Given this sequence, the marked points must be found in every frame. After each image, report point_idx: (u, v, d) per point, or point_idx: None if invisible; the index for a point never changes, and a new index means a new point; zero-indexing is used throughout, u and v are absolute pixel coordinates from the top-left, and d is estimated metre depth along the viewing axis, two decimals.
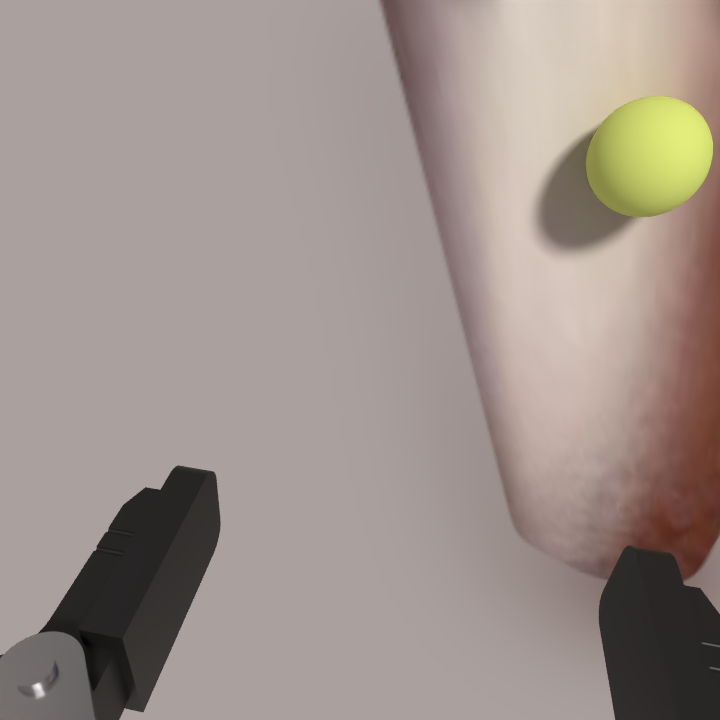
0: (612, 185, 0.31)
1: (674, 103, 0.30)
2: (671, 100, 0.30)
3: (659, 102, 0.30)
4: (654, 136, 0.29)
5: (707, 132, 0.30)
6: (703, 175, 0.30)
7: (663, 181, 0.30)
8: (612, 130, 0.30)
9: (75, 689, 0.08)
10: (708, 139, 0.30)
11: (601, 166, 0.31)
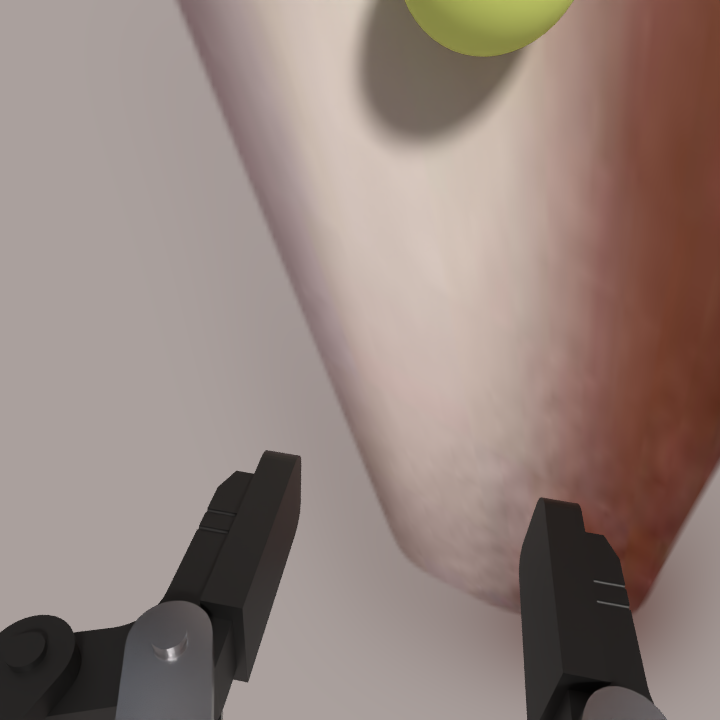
0: None
1: None
2: None
3: None
4: None
5: None
6: None
7: None
8: None
9: (199, 664, 0.08)
10: None
11: None
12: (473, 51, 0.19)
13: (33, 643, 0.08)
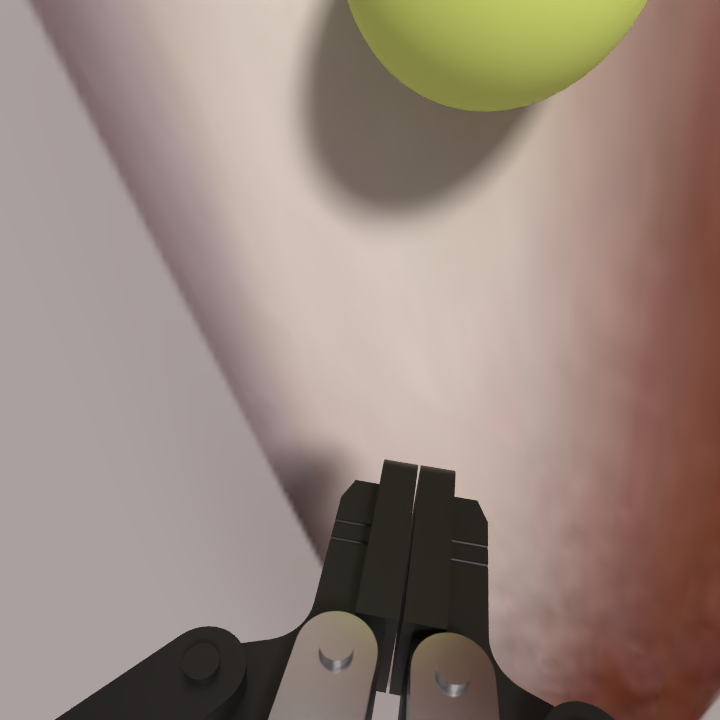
0: None
1: None
2: None
3: None
4: None
5: None
6: None
7: None
8: None
9: (357, 687, 0.08)
10: None
11: None
12: (466, 106, 0.12)
13: (209, 658, 0.08)
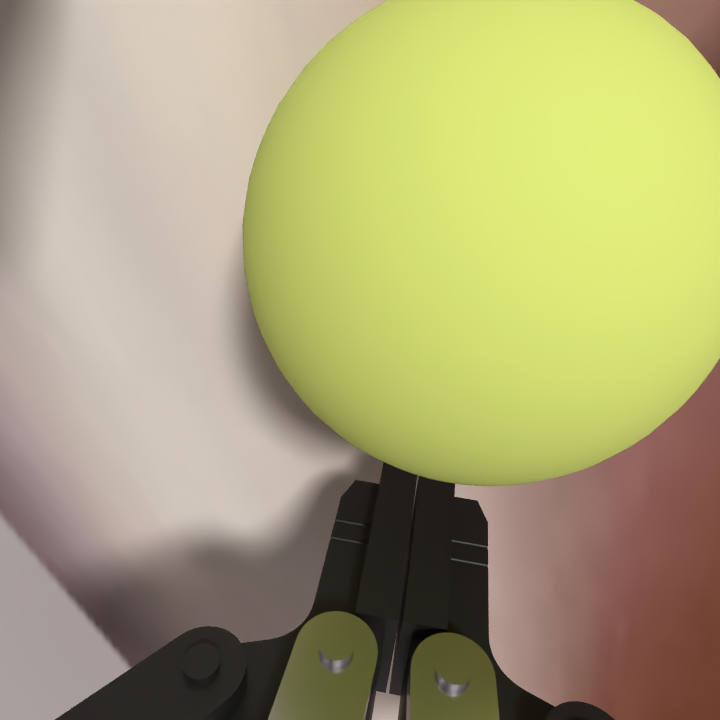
0: None
1: None
2: None
3: None
4: None
5: None
6: None
7: None
8: None
9: (357, 687, 0.08)
10: None
11: None
12: None
13: (209, 658, 0.08)
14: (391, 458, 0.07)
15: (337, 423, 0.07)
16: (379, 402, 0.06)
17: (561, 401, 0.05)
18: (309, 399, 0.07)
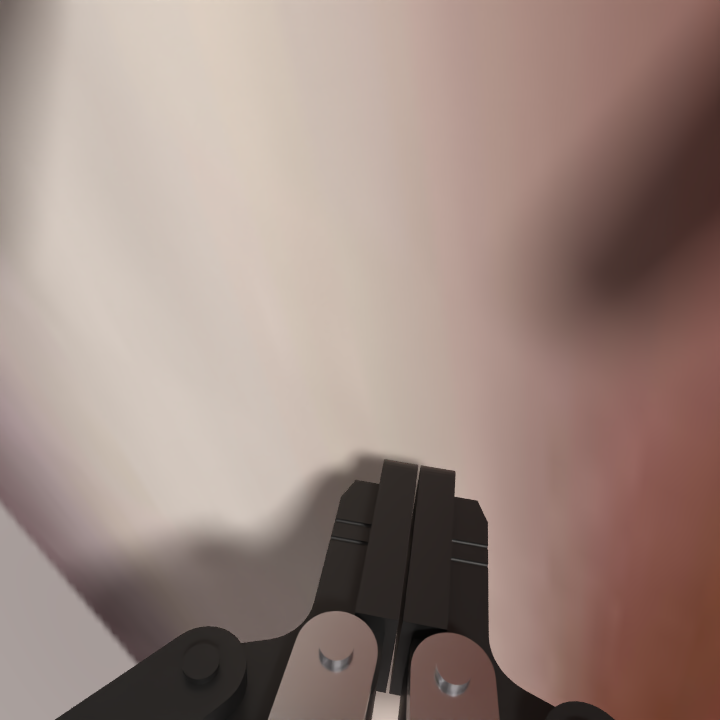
0: None
1: None
2: None
3: None
4: None
5: None
6: None
7: None
8: None
9: (357, 687, 0.08)
10: None
11: None
12: None
13: (209, 658, 0.08)
14: None
15: None
16: None
17: None
18: None
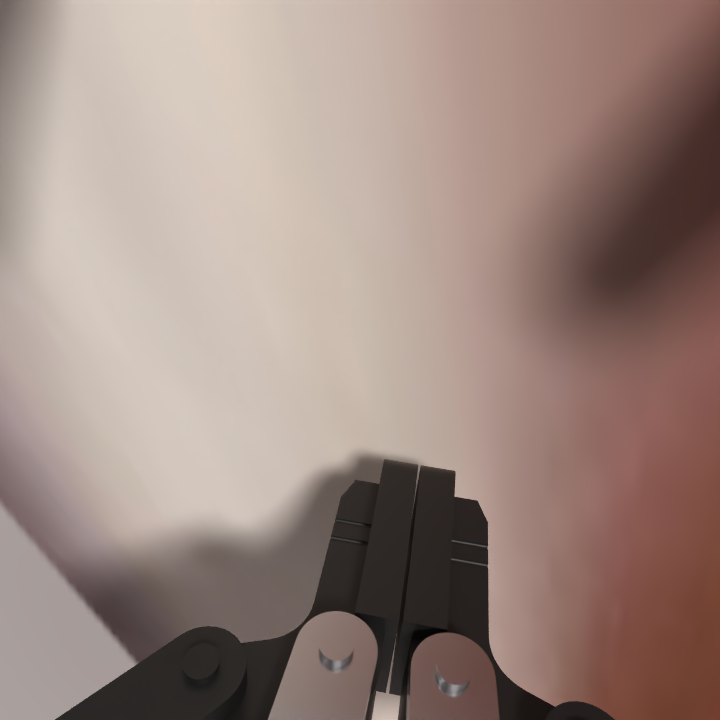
0: None
1: None
2: None
3: None
4: None
5: None
6: None
7: None
8: None
9: (357, 687, 0.08)
10: None
11: None
12: None
13: (209, 658, 0.08)
14: None
15: None
16: None
17: None
18: None
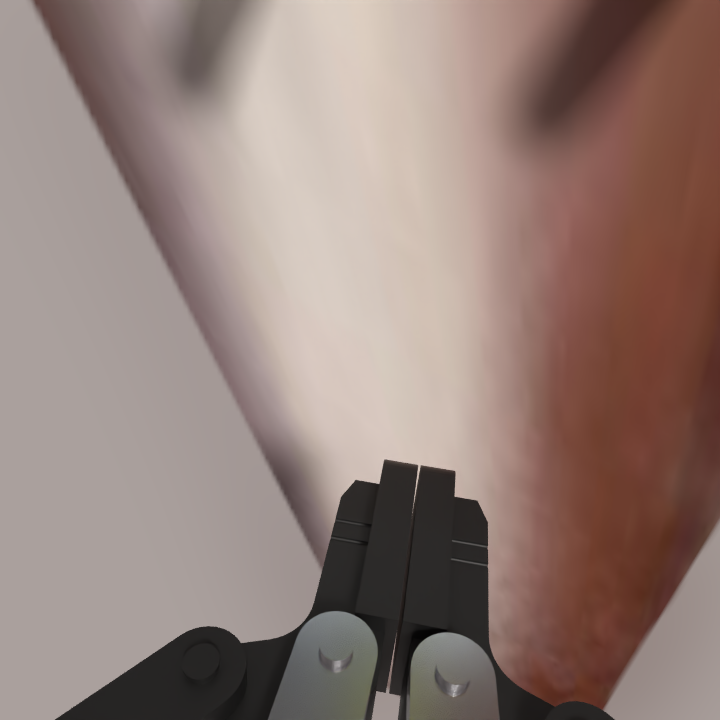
0: None
1: None
2: None
3: None
4: None
5: None
6: None
7: None
8: None
9: (357, 687, 0.08)
10: None
11: None
12: None
13: (210, 658, 0.08)
14: None
15: None
16: None
17: None
18: None
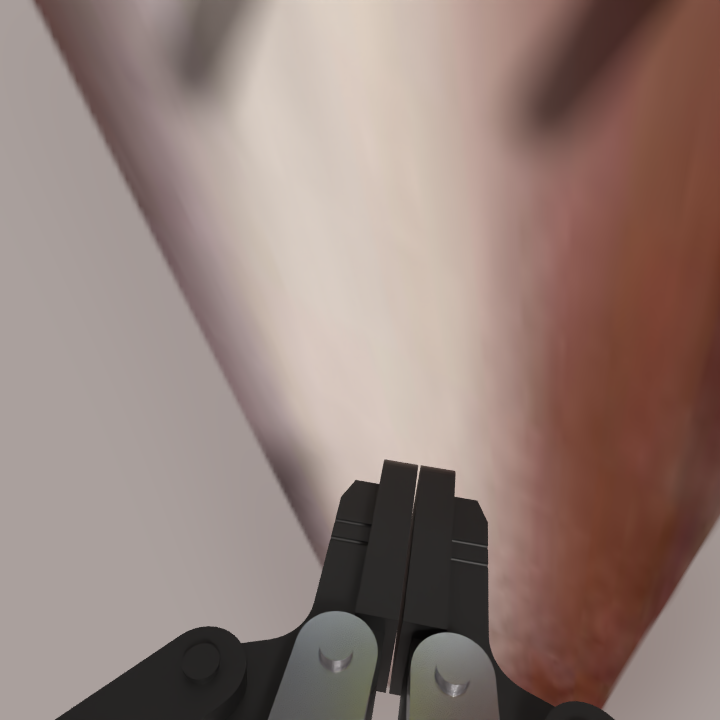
0: None
1: None
2: None
3: None
4: None
5: None
6: None
7: None
8: None
9: (357, 687, 0.08)
10: None
11: None
12: None
13: (209, 658, 0.08)
14: None
15: None
16: None
17: None
18: None
